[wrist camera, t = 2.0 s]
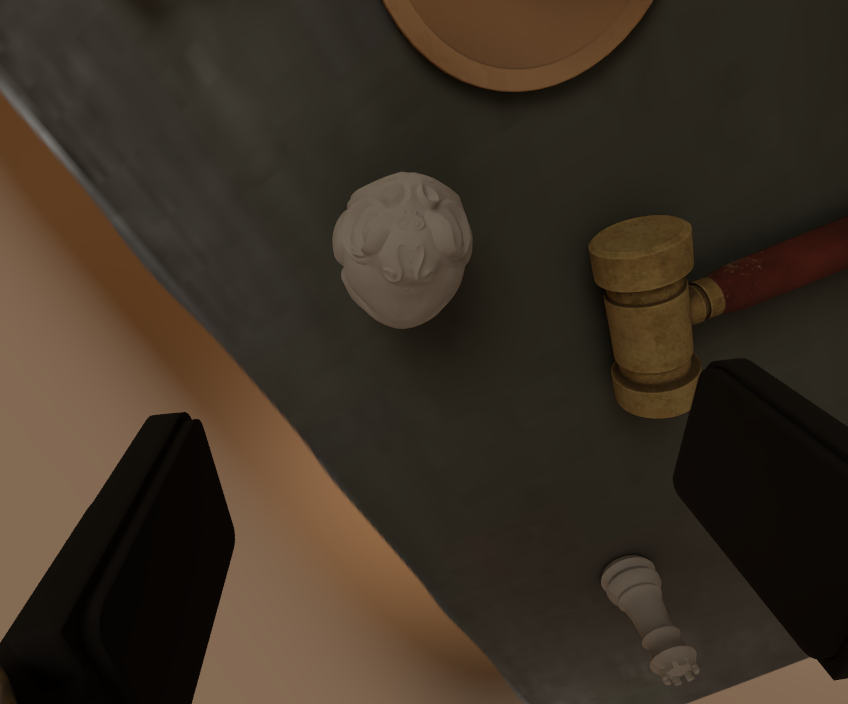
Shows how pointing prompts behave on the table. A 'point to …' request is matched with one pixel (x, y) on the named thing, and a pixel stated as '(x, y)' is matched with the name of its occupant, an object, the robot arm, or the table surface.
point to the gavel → (687, 299)
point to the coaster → (515, 37)
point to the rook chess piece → (649, 616)
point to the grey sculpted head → (403, 248)
